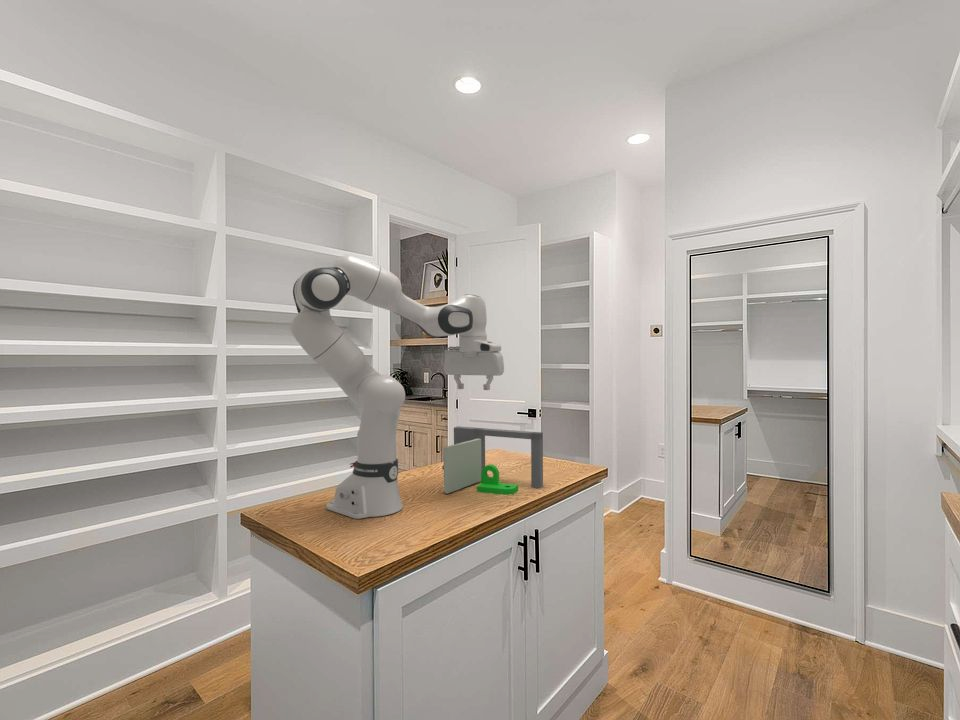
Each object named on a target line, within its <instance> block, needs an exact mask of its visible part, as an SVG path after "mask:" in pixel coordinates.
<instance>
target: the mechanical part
mask: <svg viewBox="0 0 960 720" xmlns="http://www.w3.org/2000/svg"><path fill="white" fill-rule="evenodd" d="M488 471H489V472H491V473H492V477H491V476H489V475H488ZM480 482H481V483H480V484H478V485H477V486H476V492H477V493H482V492H483V493H484V494H491V493H493V494H494V495H501V494H503V495H502V496H504V495H505V496H510V495H509V494H512V495H515V494H516V493H517V492H519V484H513V483H502V482H501V481H500V471H499V468H498V467H497V465H494V464H491V463H490V464H487V465H485V467H484V468H483V469H482V472H481V481H480ZM483 493H482V494H483ZM514 493H515V494H514ZM506 494H507V495H506Z"/></svg>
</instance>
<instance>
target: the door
mask: <svg viewBox="0 0 960 720" xmlns="http://www.w3.org/2000/svg"><path fill="white" fill-rule="evenodd" d="M442 449H443V452H442V454H443V460H442V461H443V465H442V470H443V494H447V495H448V494H450V493H452V492H453V493H454V492H456V491H458V490H461V489H463V488H466V487H469V486H471V485H473V484H477V483H479V482H481V439H474V440H470V441H466V442H462V443H458V444H454V443H453V444H451V445H448V446H447V445H446V446H443V448H442Z"/></svg>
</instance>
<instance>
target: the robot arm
mask: <svg viewBox="0 0 960 720" xmlns="http://www.w3.org/2000/svg"><path fill="white" fill-rule="evenodd" d="M292 288H293V289H292V295H293V299H294V303H295V306H296V307H295V308H296V310H297V313H298V314H297V315H296V316H295V317H294V318H293V320H292V322H291V323H290V332H291V334H292V336H293V337H294V339H295V340H296V341H297V343H298V344H299V345H300V347H301V349H302V350H304V352H305V353H306V354H307V355H308V356H309V357H310V358H311V359H312V360H313V361H314V362H315V363H316V364H317V365H318V366H319V368H321V369H322V370H324V372H325V373H326V374H327V375H328V376H330V378H331V379H332V380H334V382H335V383H336V384H337V385H338V387H339V388H340V389H341V390H342V391H343V393H344V394H345V395H346V396H347V397H348V398H349V399H350V400H351V401H352V403H354V405H356V406H357V407H358V408H359V409H361V419H360V425H359V429H358V431H357V435H356V447H357V448H356V450H357V453H356V454H357V455H356V456H357V459H356V461H354V462H351V463H349V465H350V466H349V468H353V470H352V473H351V474H350V475H348V477H346V478H345V479H344V480H342V482H340V483H338V485H337V486H336V488H335V491H334V499H332V500H330V501H329V502H328V503H327V504H326V506H325V509H326V510H329V511H331V512H334V513H337V514H340V515H343V516H347V517H349V518H352V519H355V520H358V519H365V518H375V517H383V516H387V515H388V516H389V515H392V514H396V513H398V512H400V511H401V510H402V509H403V507H404V506H403V502H402V499H401V495H400V489H399V482H398V476H399V475H398V474H399V460H398V458H397V430H398V429H397V428H398V425H399V424H398V423H399V419H400V414H401V413H400V412H401V408H402V407H403V406H404V403H405V400H406V391H405V388H404V386H403V385H402V384H401V383H400V382H399V380H397V379H396V378H395V377H392V376H389V375H387V374H386V375H385V374H380V372H378V371H377V370H376V369H375V368H374V367H373V366H372V365H371V363H370V362H369V360H368V358H367V357H366V355H365V353H364V352H363V350H361V348H360V347H359V346H358V345H357V344H356V343H355V342H354V340H352V339H351V338H350V337H349V336H348V335H347V334H346V332H345V331H344V330H343V329H342V328H340V327H339V326H338V325H337V324H336V323H335V320H333V317H332V316H331V311H330V310H331V309H332V308H334V307H336V306H338V304H340V302H341V301H342V300H343V298H344V297H345V296H351V297H354V298H356V299H357V300H360V301H362V302H364V303H367V304H369V305H372V306H374V307H378V308H380V309H384V310H387V311H390V312H392V313H394V314H396V315H398V316H400V317H401V318H404V319H406V320H407V321H410V322H411V323H414V324H415V325H416V326H417V327H418V328H419V329H420V330H421V331H422V332H423V333H424V334H425V335H426V336H428V337H429V338H435V339H438V338H442V337H449V336H456V335H458V346H448V347H447V348H446V349H445V350H444V362H443V363H444V364H443V372H444V374H445V375H446V376H447V375H448V376H453V379H454V381H455V383H456V385H457V386H456V389H457V390H463V389H465V387H464V386H465V384H464V383H462V381H461V378H462V376H486V383H485V384H483V386H482V387H483V390H484V391H490V389H491V384H492V382H493V381H494V376H496V377H498V376H502V375H504V373H505V363H504V357H503V355H502V354H503V353H501V351H502V345H501V344H499V343H495V342H492V341H489V340H488V339H487V337H488V335H487V332H486V327H487V318H488V317H487V309H486V307H487V306H486V302H485V300H484V299H483V297H481V296H479V295H476V294H469V293H468V294H463V295H461V296H460V297H459V298H457V299H456V300H454V301H452V302H449V303H447V304H443V305H438V306H427V305H424V304H422V303H419V302H418V301H417V300H414V299H412V298H411V297H408V296H407V295H405V294H404V292H403V290H402V289H403V287H402V283H401V281H400V279H399V277H397V275H395V274H394V273H393V272H391V271H389V270H388V269H386V268H385V267H383V266H380V265H379V264H377V263H374V262H373V261H369V260H367V259H364V258H362V257H359V256H356V255H351V254H345V255H344V254H343V255H342V256H340V257H339V258H338V259H337V260H336V261H335V263H334V264H333V266H332V267H329V266H328V267H318V268H317V267H316V268H314V269H311V270H308V271H305V272H304V273H303V274H301V275H300V276H299V278H297V280H296V281H295V282H294V284H293V287H292Z"/></svg>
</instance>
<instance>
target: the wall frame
mask: <svg viewBox="0 0 960 720" xmlns="http://www.w3.org/2000/svg"><path fill="white" fill-rule="evenodd" d="M486 437H498V438H507V439H509V438H510V439H521V440H522V439H523V440H530V449H531V450H530V457H531V458H530V463H531V465H530V466H531V467H530V469H531V471H530V473H531V474H530V475H531V476H530V477H531V478H530V481H531V482H530V483H531V488H532V487H533V489H539V488H540V489H542V488H543V487H544V446H543V445H544V439H543V438H544V436H543V432H541V431H529V430H527V431H526V430H513V429H512V430H509V429H500V428H499V429H498V428H488V427H487V428H484V427H472V426H471V427H470V426H454V427H453V445H454V444H458V443H462V442H466V441H470V440H474V439H481V472H482V469H483V468H484V467H485V466H486ZM542 486H543V487H542Z"/></svg>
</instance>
